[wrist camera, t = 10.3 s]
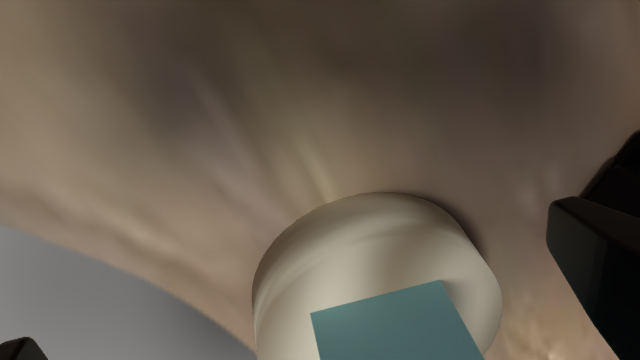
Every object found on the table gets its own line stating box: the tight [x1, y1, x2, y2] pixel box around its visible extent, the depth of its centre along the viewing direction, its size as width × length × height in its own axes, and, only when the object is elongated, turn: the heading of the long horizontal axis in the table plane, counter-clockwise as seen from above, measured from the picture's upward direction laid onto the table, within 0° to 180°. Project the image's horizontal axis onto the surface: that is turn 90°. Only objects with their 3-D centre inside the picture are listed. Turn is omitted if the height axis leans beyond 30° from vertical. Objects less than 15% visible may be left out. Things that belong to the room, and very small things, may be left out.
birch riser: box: [252, 192, 503, 360], centre depth 26 cm, size 12×12×4 cm
